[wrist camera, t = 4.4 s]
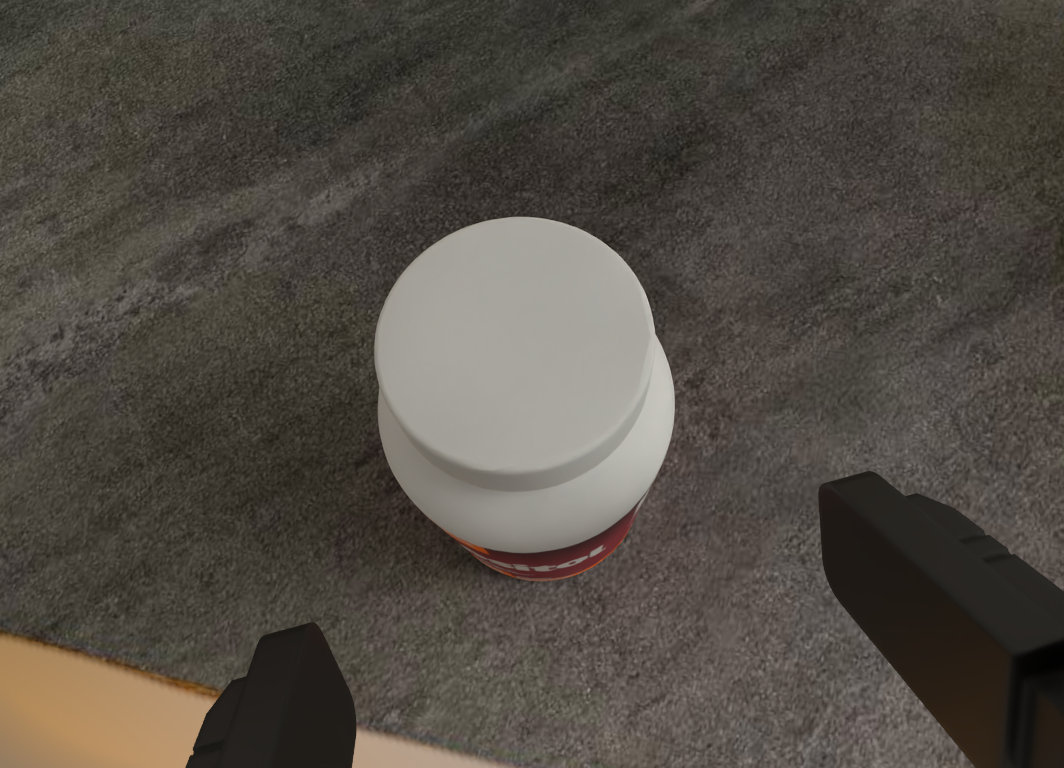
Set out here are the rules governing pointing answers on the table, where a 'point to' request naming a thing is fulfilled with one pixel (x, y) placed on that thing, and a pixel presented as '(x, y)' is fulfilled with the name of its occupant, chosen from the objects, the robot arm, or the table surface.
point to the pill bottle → (524, 394)
